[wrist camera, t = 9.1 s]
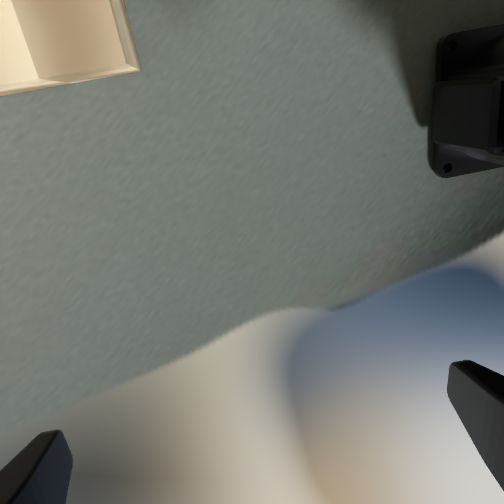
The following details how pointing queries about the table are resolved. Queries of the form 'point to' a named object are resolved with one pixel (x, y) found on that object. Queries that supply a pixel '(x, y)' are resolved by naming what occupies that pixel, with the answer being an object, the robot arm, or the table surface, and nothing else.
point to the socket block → (63, 43)
